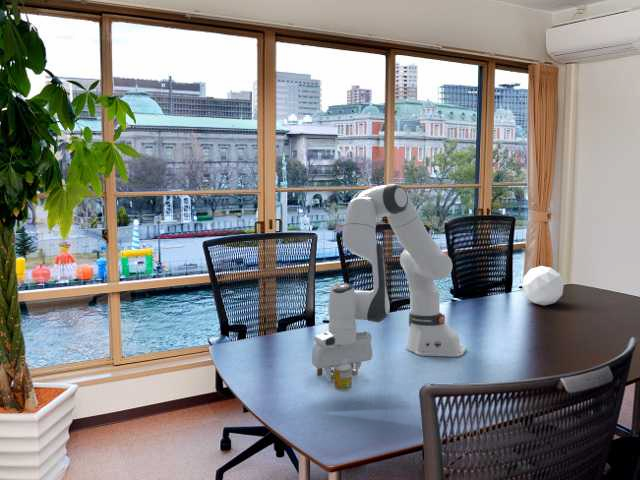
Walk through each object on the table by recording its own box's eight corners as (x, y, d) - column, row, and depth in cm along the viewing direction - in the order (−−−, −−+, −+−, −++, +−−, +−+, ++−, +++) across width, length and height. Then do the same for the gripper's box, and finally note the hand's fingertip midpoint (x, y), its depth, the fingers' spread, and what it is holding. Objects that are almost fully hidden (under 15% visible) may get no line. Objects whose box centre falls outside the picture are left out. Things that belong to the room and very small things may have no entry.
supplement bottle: (333, 385, 198) (332, 354, 196) (350, 384, 198) (350, 354, 197) (335, 391, 192) (334, 360, 191) (352, 390, 193) (352, 359, 191)
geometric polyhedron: (549, 319, 300) (559, 293, 286) (511, 301, 309) (519, 274, 295) (565, 295, 310) (575, 269, 296) (528, 278, 319) (536, 252, 305)
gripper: (366, 328, 200) (366, 369, 202) (309, 336, 192) (310, 378, 193) (376, 333, 194) (376, 375, 196) (317, 342, 186) (318, 385, 188)
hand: (342, 377), depth 195 cm, fingers open, 7 cm apart
